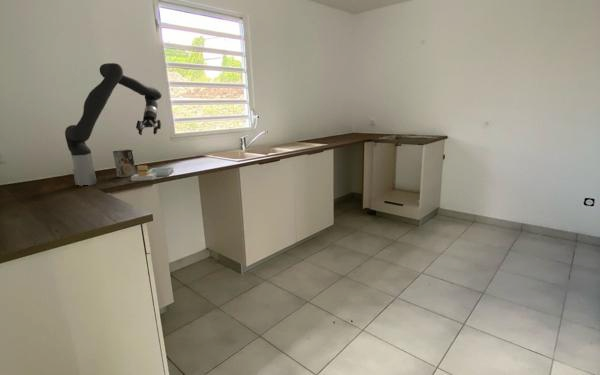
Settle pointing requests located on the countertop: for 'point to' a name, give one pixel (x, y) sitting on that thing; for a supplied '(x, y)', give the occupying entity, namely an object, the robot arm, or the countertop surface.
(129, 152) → the coffee box
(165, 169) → the tray
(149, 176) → the fuse holder
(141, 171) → the fuse
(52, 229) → the countertop surface
